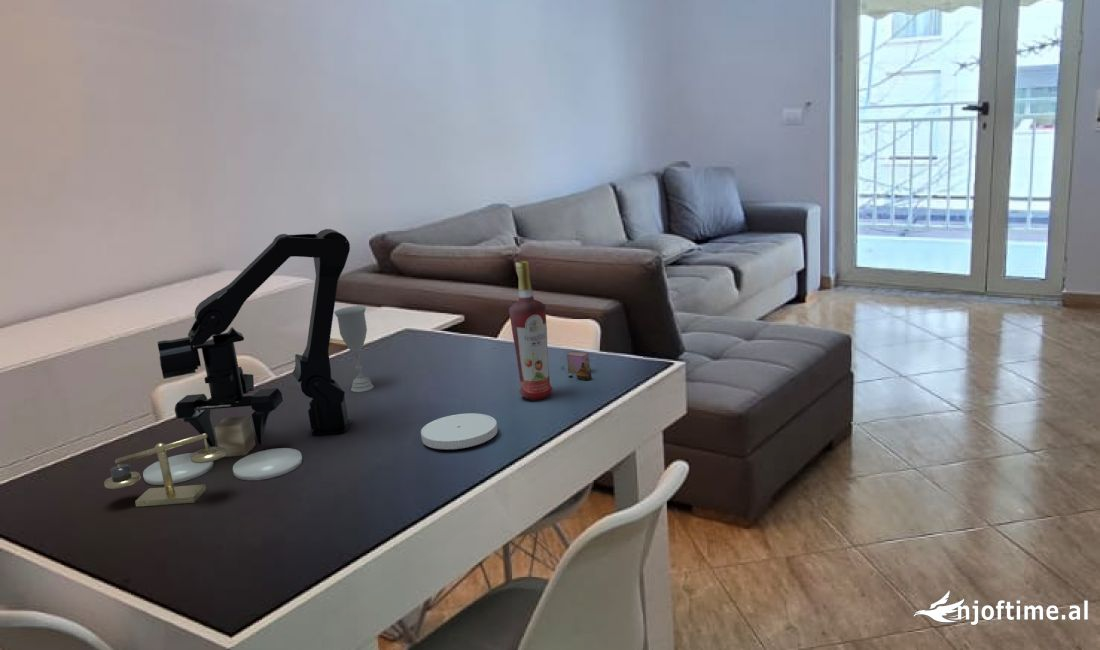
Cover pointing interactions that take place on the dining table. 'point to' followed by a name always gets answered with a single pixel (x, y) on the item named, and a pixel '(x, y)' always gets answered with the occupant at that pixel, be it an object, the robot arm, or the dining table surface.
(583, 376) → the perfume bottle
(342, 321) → the chalice
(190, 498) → the balance
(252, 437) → the block
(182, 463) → the pale round disc
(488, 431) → the plastic lid
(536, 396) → the liquor
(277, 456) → the shallow white plate
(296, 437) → the dining table surface
